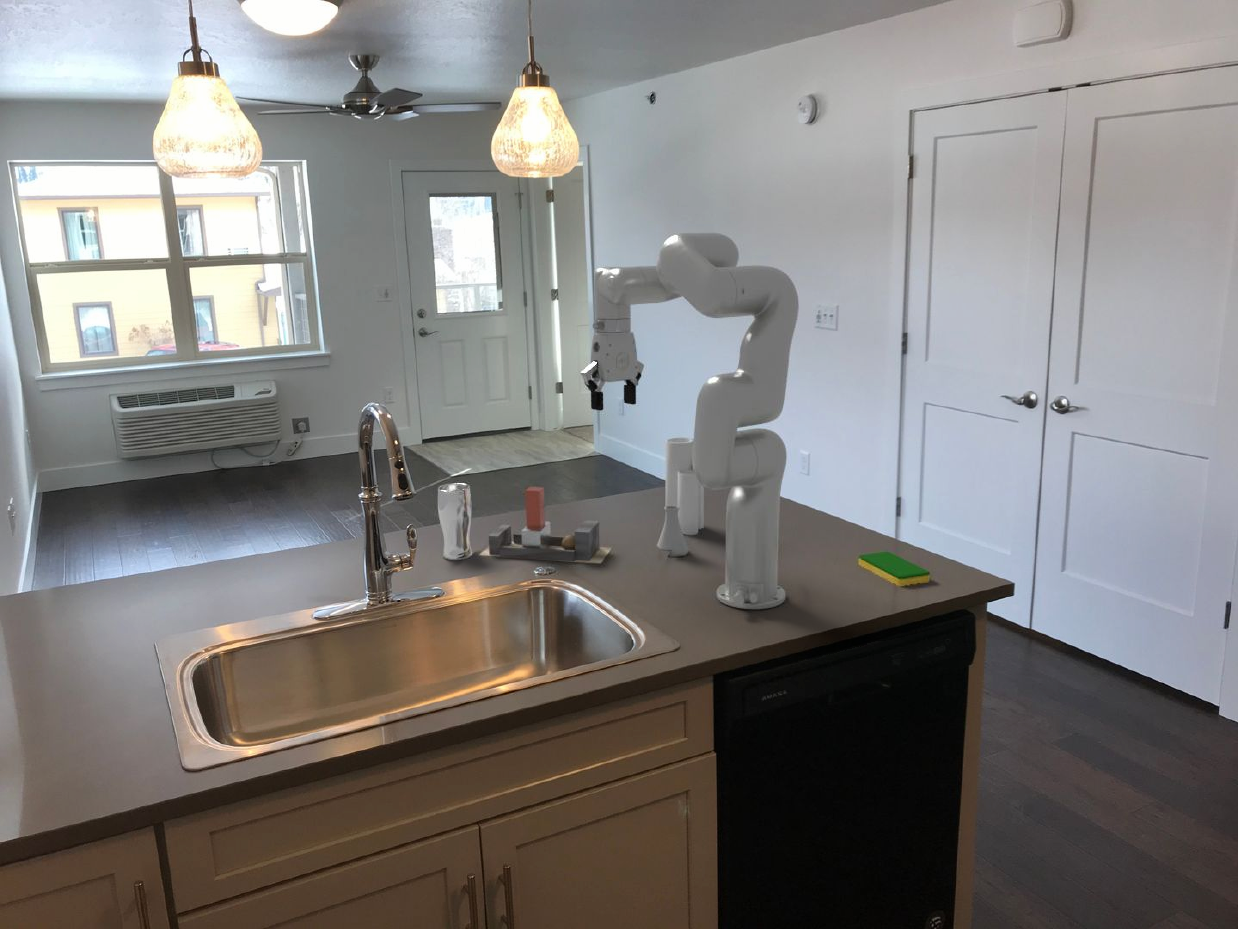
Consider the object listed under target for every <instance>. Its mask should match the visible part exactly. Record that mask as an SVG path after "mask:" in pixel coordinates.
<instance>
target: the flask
mask: <svg viewBox="0 0 1238 929" xmlns="http://www.w3.org/2000/svg"><path fill="white" fill-rule="evenodd" d="M663 508H664V509H663V510H664V511H665V518H664V523H663V526H662V527H663V528H662V529H661V533H660V536H659V539H658V541H657V544H656V547H658V548H659V549H660V550H667V551H670V552H669V553H668V555H667V557H671V558H674V557H675V558H676V557H683V556H686V555H687V554H688V553H689V547H688V544H687V542H686V541H687V540H686V539H685V537H684V536H685V535H683V533H682V530H681V527H680V524H679V518H678V510H679V508H680V507H679V506H676V505H668V506H666V505H665V506H664V507H663Z"/></svg>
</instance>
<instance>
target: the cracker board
mask: <svg viewBox="0 0 1238 929" xmlns="http://www.w3.org/2000/svg"><path fill="white" fill-rule="evenodd" d="M565 536H566V535H553V534H551V545H550V546H549V547H548V548H547V549H546V548H530V547H522V533H521V532H519V533H517V532H515V533H513V535H512V525H511V524H501V525H499V527H498V528H496V529H495V530H494V531H493V532H492V533H490V534H489V535H488V546H487V548H485V549H484V550H483V551H482V552H480V554H478V556H483V557H498V558H512V559H513V558H514V559H527V560H542V561H544V560H545V561H556V562H557V561H558V562H559V561H560V562H572V563H584V564H585V563H587V564H602V562H603V561H604V560H605V558H606V557H607V556H608V554H609V553H610V551H611V550H612V549H613V547H605V546H600V545H601V544H600V521H599V520H584V521H583V522H582V523H581V524H580V525H579V526H578V528H576V529H575V531H574V536H575V550H564V548H563V546H562V541H563V539H564V537H565ZM512 537H513V541H512Z"/></svg>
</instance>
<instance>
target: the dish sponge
mask: <svg viewBox="0 0 1238 929" xmlns="http://www.w3.org/2000/svg"><path fill="white" fill-rule="evenodd" d="M858 564H859V565H858V566H860V565H861V566H860V567H862V568H863V567H864V568H863V569H865V568H866V570H867V569H868V570H867V571H869V570H871V571H872V572H871V571H870V572H871V573H873V572H874V573H873V574H875V575H876V574H877V576H878V575H879V576H878V577H880V578H882V577H883V578H882V579H884V578H885V579H884V580H886V579H887V580H886V581H888V582H889V581H890V583H891V584H893V583H895V584H896V586H897V585H898V586H897V587H900V586H901V587H906V586H905V585H907V586H911V585H910V584H913V585H918V584H917V583H920V584H924V583H929V582H930V577H931V576H930V574H931V571H929V570H926V569H924V568H922V567H921V566H919V565H916V564H914V563H912V562H910V561H908V560H906V559H904V558H902V557H900V556H898V555H896V554H895V553H892V552H891V551H880V552H874V553H873V552H871V553H866V554H860V555H858ZM895 584H894V585H895Z"/></svg>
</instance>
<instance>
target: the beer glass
mask: <svg viewBox="0 0 1238 929" xmlns="http://www.w3.org/2000/svg"><path fill="white" fill-rule="evenodd" d="M437 512H438V517H439V522H440V527H441V530H442V534H443V551H442V556H443V558H444V559H445V560H447V561H462V560H466V559H469V558H470V557H471V556H472V555H473V552H472V547H471V542H470V533H471V524H472V523H471V522H472V515H473V514H472V513H473V505H472V495H471V486H470V485H469V484H467V483H459V482H458V483H457V482H456V483H455V482H454V483H446V484H442V485H439V486H438V487H437Z"/></svg>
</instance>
